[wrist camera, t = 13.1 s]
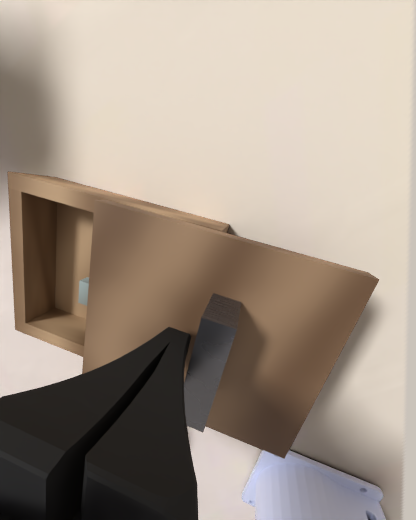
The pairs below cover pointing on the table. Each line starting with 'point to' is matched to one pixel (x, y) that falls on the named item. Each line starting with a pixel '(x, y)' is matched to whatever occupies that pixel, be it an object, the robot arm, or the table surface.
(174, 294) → the lid
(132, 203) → the brown shallow open box
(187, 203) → the table surface
